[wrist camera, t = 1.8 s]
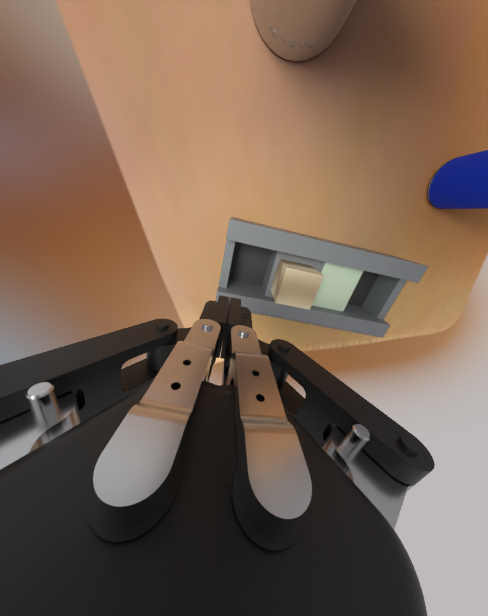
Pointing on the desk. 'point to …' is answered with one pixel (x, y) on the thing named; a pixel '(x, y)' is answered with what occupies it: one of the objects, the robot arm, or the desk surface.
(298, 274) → the birch block
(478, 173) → the blue cylinder
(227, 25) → the desk surface
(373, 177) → the desk surface
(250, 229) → the box
